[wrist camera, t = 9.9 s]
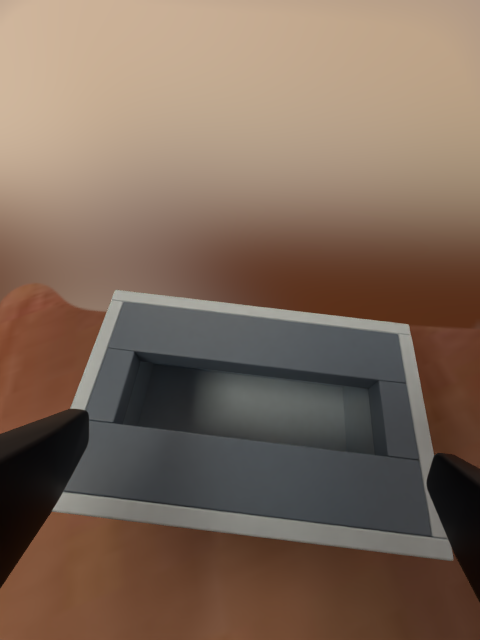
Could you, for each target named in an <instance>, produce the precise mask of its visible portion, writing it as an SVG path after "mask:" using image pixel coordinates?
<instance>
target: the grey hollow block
mask: <svg viewBox="0 0 480 640" xmlns="http://www.w3.org/2000/svg"><path fill="white" fill-rule="evenodd" d="M73 408H74V409H82V410H86V411H87V412H88V414H89V442H88V445H87V448H86V450H85V452H84V454H83V456H82V457H81V459H80V461H79V463H78V465H77V467H76V469H75V471H74V472H73V474H72V476H71V478H70V480H69V482H68V484H67V486H66V487H65V489H64V491H63V493H62V495H61V497H60V498H59V500H58V502H57V504H56V505H55V507H54V508H53V510H52V512H61V513H69V514H77V515H85V516H93V517H101V518H109V519H117V520H125V521H133V522H141V523H149V524H157V525H165V526H173V527H181V528H189V529H197V530H206V531H214V532H222V533H230V534H238V535H246V536H254V537H262V538H270V539H278V540H286V541H294V542H302V543H310V544H318V545H326V546H334V547H342V548H351V549H359V550H367V551H375V552H383V553H391V554H399V555H407V556H415V557H423V558H431V559H439V560H447V561H453V553H452V548H451V545H450V542H449V540H448V538H447V535H446V533H445V531H444V528H443V526H442V523H441V521H440V519H439V516H438V514H437V511H436V509H435V507H434V504H433V502H432V500H431V497H430V495H429V492H428V490H427V484H426V482H427V476H428V473H429V470H430V467H431V463H432V460H433V457H434V453H433V447H432V442H431V437H430V432H429V426H428V421H427V416H426V411H425V405H424V400H423V395H422V390H421V385H420V379H419V374H418V369H417V364H416V358H415V353H414V348H413V343H412V338H411V336H410V328H409V325H408V324H400V323H392V322H383V321H375V320H366V319H358V318H350V317H341V316H332V315H324V314H316V313H307V312H299V311H290V310H282V309H273V308H265V307H256V306H248V305H239V304H231V303H222V302H214V301H206V300H197V299H188V298H180V297H171V296H163V295H155V294H146V293H138V292H129V291H121V290H115V292H114V295H113V297H112V301H111V302H110V305H109V308H108V310H107V313H106V316H105V318H104V321H103V324H102V326H101V329H100V331H99V334H98V337H97V339H96V342H95V345H94V347H93V350H92V353H91V355H90V358H89V361H88V363H87V366H86V368H85V371H84V374H83V376H82V379H81V382H80V384H79V387H78V390H77V392H76V395H75V398H74V400H73V403H72V405H71V408H70V409H73Z"/></svg>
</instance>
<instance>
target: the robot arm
mask: <svg viewBox="0 0 480 640" xmlns="http://www.w3.org/2000/svg"><path fill="white" fill-rule="evenodd" d="M88 442H89V414H88V412H87V411H86V410H82V409H74V408H73V409H68V410H65V411H63V412H60V413H57V414H54V415H52V416H49V417H46V418H43V419H41V420H38V421H35V422H32V423H30V424H27V425H24V426H21V427H19V428H16V429H13V430H10V431H8V432H5V433H2V434H0V588H1V587H2V585H3V584H4V582H5V581H6V579H7V578H8V576H9V575H10V573H11V572H12V570H13V569H14V567H15V566H16V564H17V563H18V561H19V560H20V558H21V557H22V555H23V554H24V552H25V551H26V549H27V548H28V546H29V545H30V543H31V542H32V540H33V539H34V537H35V536H36V534H37V533H38V531H39V530H40V528H41V527H42V525H43V524H44V522H45V521H46V519H47V518H48V516H49V515H50V513H51V512H52V510H53V508H54V507H55V505H56V504H57V502H58V500H59V498H60V497H61V495H62V493H63V491H64V489H65V487H66V486H67V484H68V482H69V480H70V478H71V476H72V474H73V472H74V471H75V469H76V467H77V465H78V463H79V461H80V459H81V457H82V456H83V454H84V452H85V450H86V448H87V445H88ZM426 484H427V490H428V492H429V495H430V497H431V500H432V502H433V504H434V507H435V509H436V511H437V514H438V516H439V519H440V521H441V523H442V526H443V528H444V531H445V533H446V535H447V538H448V540H449V542H450V545H451V547H452V549H453V551H454V554H455V556H456V558H457V560H458V562H459V564H460V566H461V568H462V570H463V571H464V573H465V575H466V577H467V579H468V581H469V583H470V585H471V587H472V589H473V591H474V593H475V594H476V596H477V598H478V600H479V602H480V469H479V468H477V467H475V466H474V465H472V464H470V463H468V462H466V461H464V460H463V459H461V458H459V457H457V456H455V455H452V454H444V453H437V454H436V455H435V456H434V457H433V460H432V463H431V467H430V470H429V473H428V476H427V482H426Z"/></svg>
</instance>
